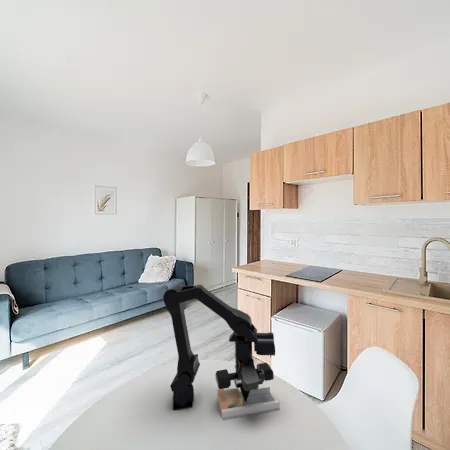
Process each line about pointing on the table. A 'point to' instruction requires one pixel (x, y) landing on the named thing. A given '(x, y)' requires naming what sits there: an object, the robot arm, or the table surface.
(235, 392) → the tan block
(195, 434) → the table surface
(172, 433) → the table surface
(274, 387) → the table surface
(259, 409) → the channel
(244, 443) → the table surface
